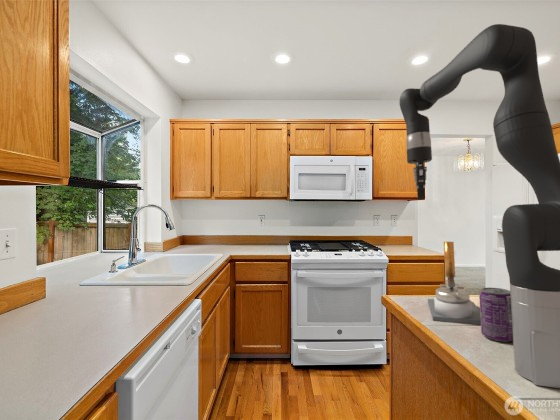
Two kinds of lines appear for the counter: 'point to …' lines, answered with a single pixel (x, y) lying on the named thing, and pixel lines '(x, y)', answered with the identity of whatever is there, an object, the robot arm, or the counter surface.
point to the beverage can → (496, 314)
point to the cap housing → (454, 312)
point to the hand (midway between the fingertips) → (421, 199)
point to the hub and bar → (451, 280)
